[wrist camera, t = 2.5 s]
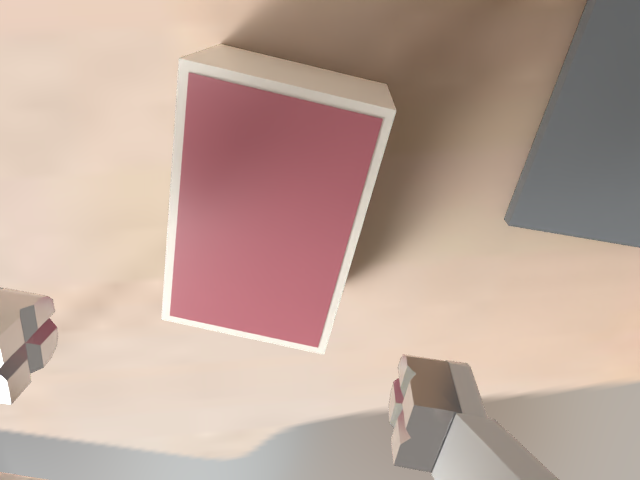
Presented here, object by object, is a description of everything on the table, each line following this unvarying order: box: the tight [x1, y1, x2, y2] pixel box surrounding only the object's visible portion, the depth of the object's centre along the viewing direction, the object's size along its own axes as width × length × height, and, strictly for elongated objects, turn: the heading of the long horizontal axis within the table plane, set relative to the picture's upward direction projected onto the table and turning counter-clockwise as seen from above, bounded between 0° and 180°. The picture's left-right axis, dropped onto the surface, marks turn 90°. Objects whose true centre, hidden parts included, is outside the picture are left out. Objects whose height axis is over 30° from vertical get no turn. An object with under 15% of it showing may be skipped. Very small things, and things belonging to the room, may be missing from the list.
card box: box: [161, 44, 397, 355], centre depth 16 cm, size 9×6×5 cm, turn 168°
